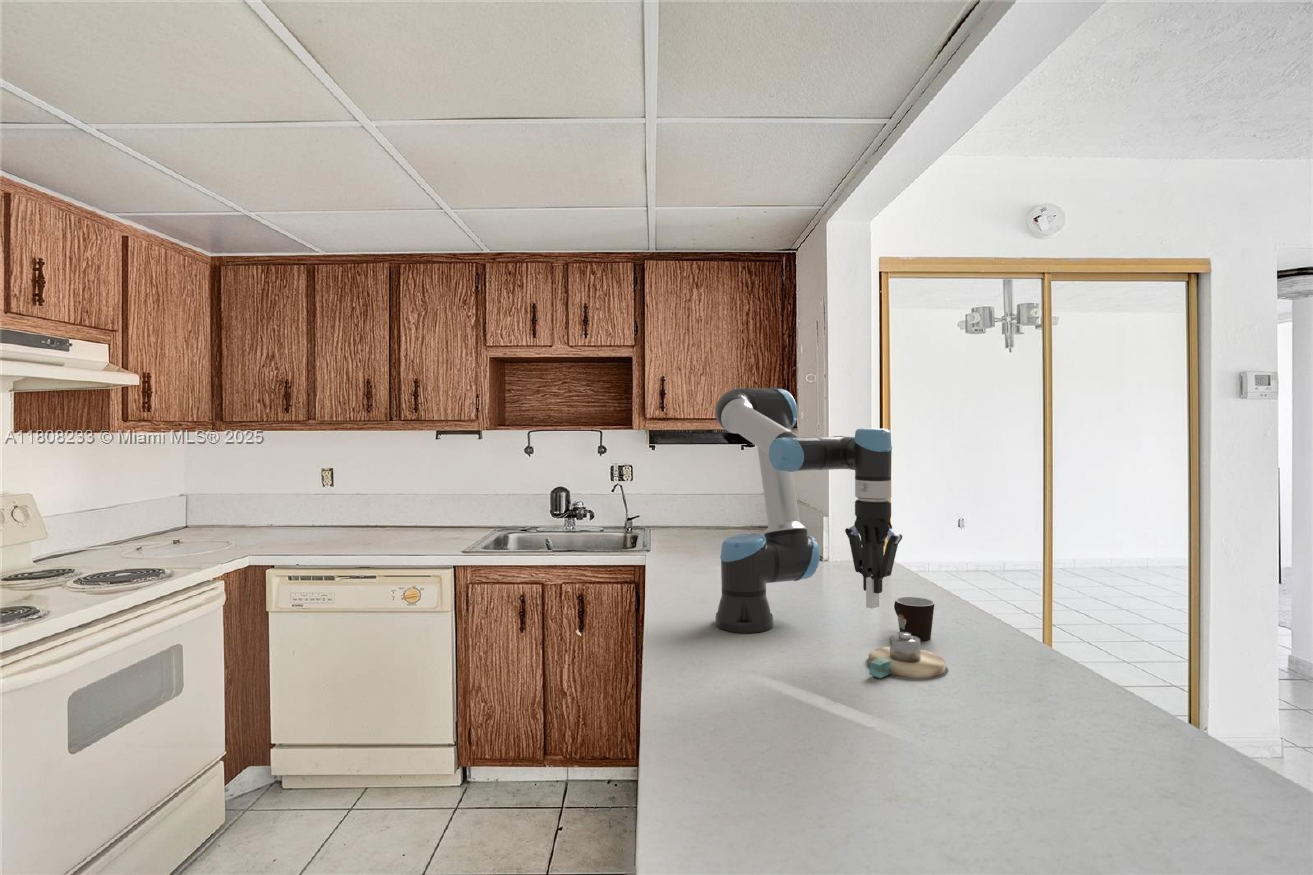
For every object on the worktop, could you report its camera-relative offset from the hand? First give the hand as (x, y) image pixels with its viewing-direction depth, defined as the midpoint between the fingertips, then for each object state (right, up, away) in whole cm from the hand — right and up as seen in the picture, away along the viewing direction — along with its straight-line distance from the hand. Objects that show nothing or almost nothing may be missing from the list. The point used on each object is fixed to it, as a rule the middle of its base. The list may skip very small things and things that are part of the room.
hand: (872, 606), depth 142 cm
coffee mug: (+15, -12, +14) cm, 23 cm away
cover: (+5, -9, -6) cm, 12 cm away
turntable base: (+5, -12, -6) cm, 15 cm away
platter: (+3, -11, -8) cm, 13 cm away
